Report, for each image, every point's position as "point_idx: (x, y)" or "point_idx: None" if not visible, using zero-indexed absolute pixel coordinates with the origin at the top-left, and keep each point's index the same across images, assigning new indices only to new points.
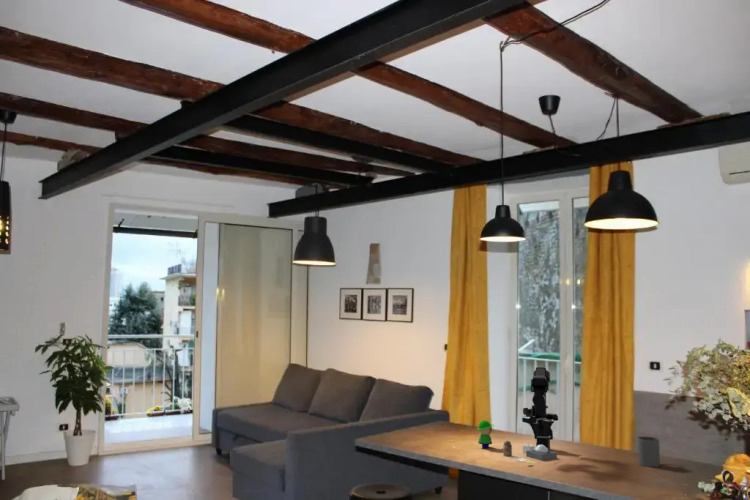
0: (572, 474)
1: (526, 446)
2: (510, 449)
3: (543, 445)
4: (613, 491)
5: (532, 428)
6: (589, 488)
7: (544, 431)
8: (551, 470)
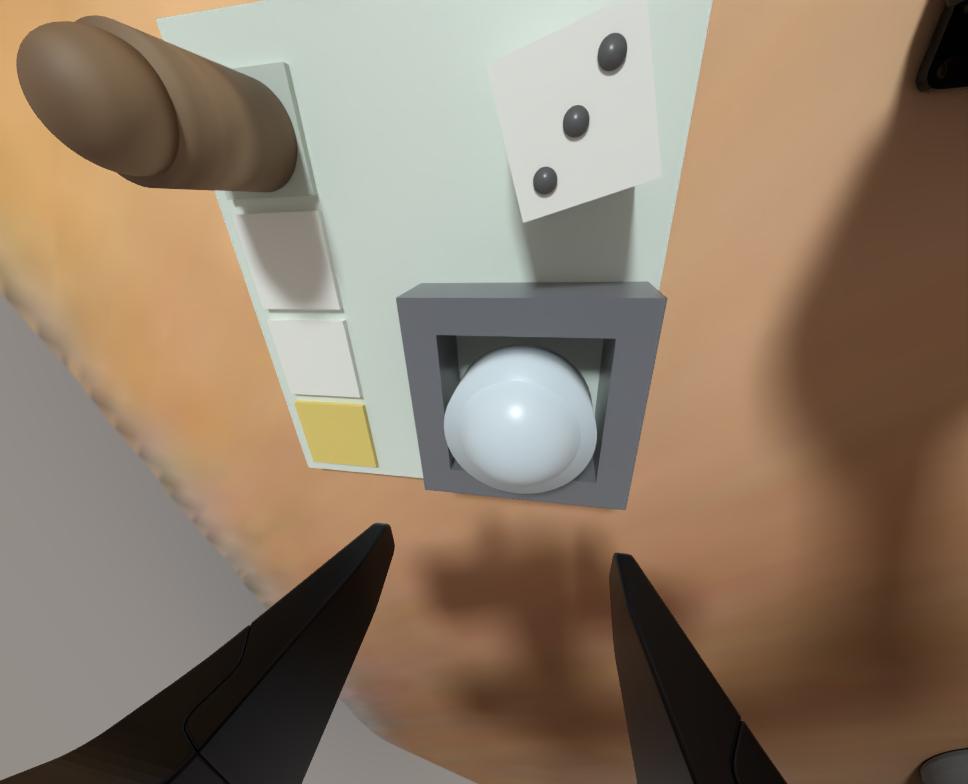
0: (432, 632)
1: (506, 149)
2: (206, 189)
3: (527, 477)
4: (406, 742)
5: (205, 680)
6: (360, 706)
7: (630, 643)
8: None
